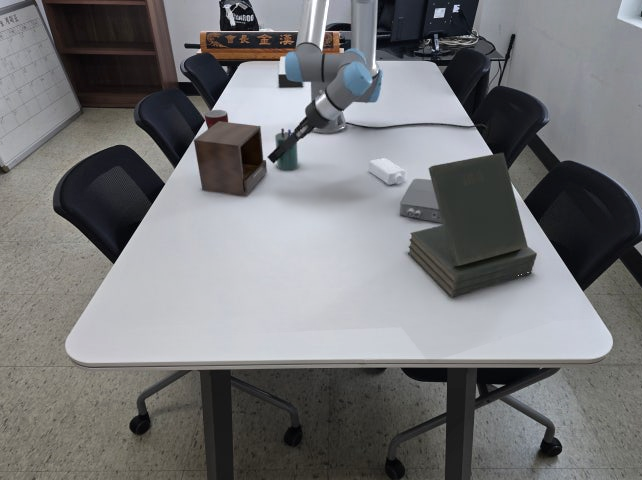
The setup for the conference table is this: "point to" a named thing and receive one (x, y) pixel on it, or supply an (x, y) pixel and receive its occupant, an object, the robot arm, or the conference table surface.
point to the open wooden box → (227, 156)
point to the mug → (215, 117)
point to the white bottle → (387, 171)
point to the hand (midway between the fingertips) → (271, 159)
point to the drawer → (253, 174)
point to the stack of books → (473, 228)
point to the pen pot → (290, 157)
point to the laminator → (282, 76)
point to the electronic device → (420, 201)
